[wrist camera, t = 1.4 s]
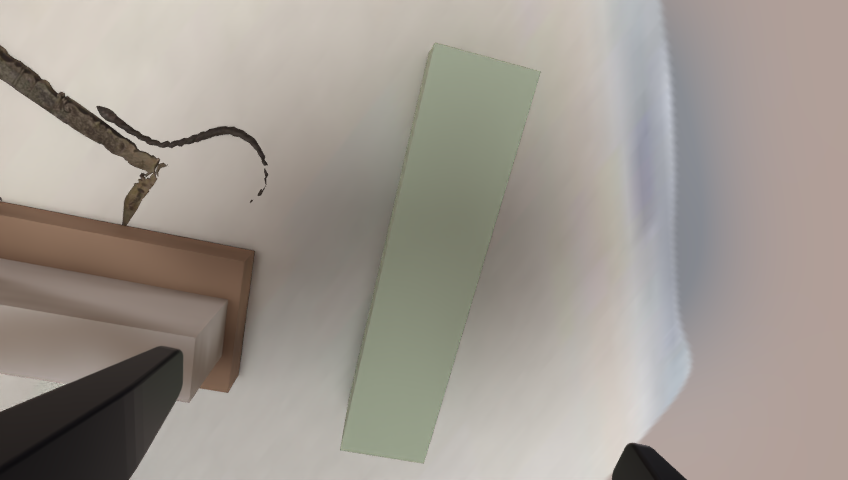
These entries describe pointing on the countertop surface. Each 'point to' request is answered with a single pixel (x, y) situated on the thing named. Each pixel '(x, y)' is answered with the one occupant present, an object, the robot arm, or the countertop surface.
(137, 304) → the ridge stand
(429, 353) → the bar
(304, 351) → the countertop surface
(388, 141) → the countertop surface
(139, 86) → the countertop surface
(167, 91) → the countertop surface
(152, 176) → the brown tree branch
